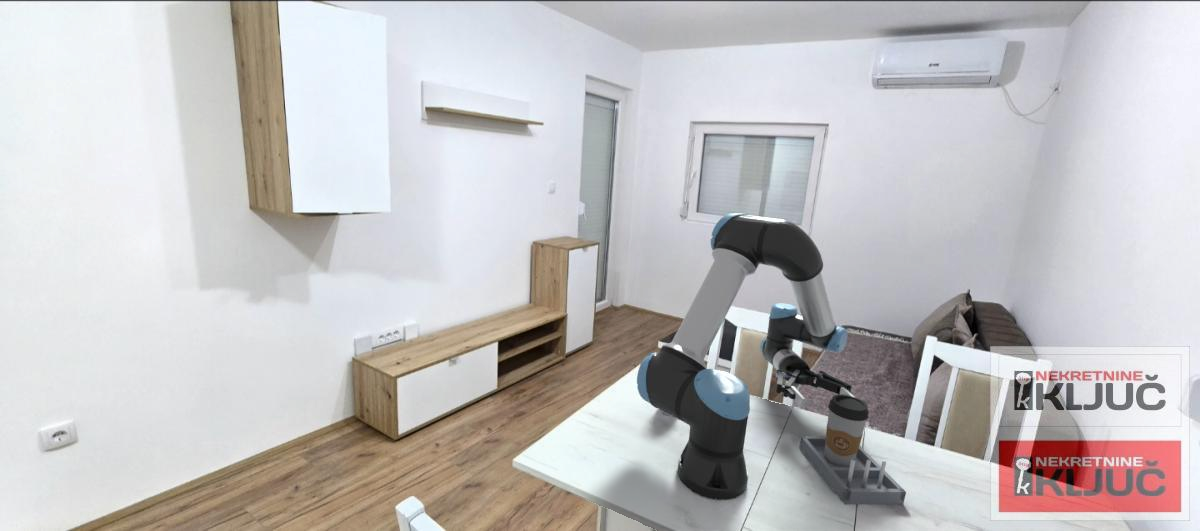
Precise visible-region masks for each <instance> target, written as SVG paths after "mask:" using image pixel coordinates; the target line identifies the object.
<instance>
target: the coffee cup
mask: <svg viewBox="0 0 1200 531" xmlns="http://www.w3.org/2000/svg"><path fill="white" fill-rule="evenodd" d="M855 397H856V396H854V397H852V396H849V395H839V394H835V395H833V396H832V398H831V399H830V400H829V404H828V415H827V422H826V429H825V430H826V432H825V436H826V440H825V442H826V443H825V457H826V459H827V460H828V461H829V462H830V463H832V464H834V465H836V466H840V467H850V463H851V460H855V458H856V454H857V452H858V449H859V446H861V443H862V442H861V441H862V438H863V437H864V436H863V435H864V431H865V427H866V423H867V420H868V419H869V414H870V410H869V409H868V404H867V403H866V402H865V401H864V400H862V399H860V398H858V397H856V398H855Z"/></svg>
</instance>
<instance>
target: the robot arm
mask: <svg viewBox="0 0 1200 531" xmlns="http://www.w3.org/2000/svg"><path fill="white" fill-rule="evenodd" d="M711 237H712V238H710V247H711V250H712V252H711V256H712V259H713V262H712V264H711V266H710V269H709V271H708V273H707V274H706V276H705V278H704V279H703V281H702V283H701V285H700V288H699V289H698V290H697V293H696V294H695V297H694V299H693V301H692V302H691V305H690V306H689V309H688V311H687V312H686V313H685V316H684V318H683V319H682V322H681V324H680V325H679V328H678V329H677V331H676V333H675V335H674V337H673V339H672V341H671V342H669V343H665V344H662V346H661V348H660V349H659V352H651V353H649V354H648V355H646V356H645V357H644V359H643V360H642V361H641V363H640V366H639V368H638V371H637V375H636V384H637V386H636V387H637V388H636V389H637V391H638V393H639V396H640V397H641V399H642V400H644V401H646V402H647V403H649V404H650V405H651V406H652V407H654V408H655V409H658V410H659V409H661V410H662V411H664V412H666V413H668V414H670V415H669V416H672V417H674V418H676V419H677V420H679V421H682V422H683V423H685V424H687V425H688V426H689V437H688V440H687V442H686V445H685V446H684V448H683V450H682V451H681V454H680V456H679V458H678V462H677V464H678V465H677V475H678V479H679V481H680V482H681V483H682V484H683V485H684V486H685V488H687V489H688V490H690V491H691V492H693V493H695V494H696V495H699V496H701V497H703V498H707V499H710V500H716V501H729V500H734V499H736V498H738V497H740V496H742V495H743V494H744V493H745V492H746V490H747V488H748V481H749V473H748V468H747V465H746V459H745V455H744V454H745V453H744V447H745V439H746V434H747V433H746V432H747V425H748V420H749V414H750V411H751V410H750V409H751V406H750V404H751V402H750V400H751V394H750V391H749V388H748V386H747V385H746V384H745V382H744V381H743V380H741V379H740V378H739V377H738V376H736V375H735V374H732V373H730V372H727V371H726V370H725V371H724V370H721V369H720V370H718V369H716V368H707V365H706V362H705V358H706V356H707V354H708V352H709V350H710V348H711V346H712V345H713V343H714V340H715V338H716V337H717V334H718V332H719V330H720V328H722V327H721V326H722V324H723V323H724V321H725V318H726V317H727V315H728V313H729V310H730V308H731V307H732V304H733V303H734V301H735V298H736V297H737V295H738V293H739V291H740V289H741V287H742V285H743V282H744V281H745V278H746V277H748V276H750V275H754V274H755V273H756V270H757V269H758V267H759V265H764V266H768V267H769V266H771V267H774V268H777V269H778V270H780V271H781V272H782V275H783V277H784V278H785V279H787V280H788V281H789V283H790V285H791V286H790V287H791V289H792V291H793V294H794V298H795V301H796V302H797V305H798V308H799V311H800V314H801V315H799V314H798V308H797V306H795V305H793V304H789V303H783V302H779V303H774V304H773V305H771V309H770V313H769V316H768V318H769V319H768V325H767V326H768V327H767V333H766V337H764V338H763V339H762V341H761V342H760V345H759V351H760V353H761V354H762V356H763V358H764V359H765V360H766V361H767V362H768V363H769V364H770V365H771V366H772V367H773V368H774V369H775V370H776V373H775V380H776V381H777V382H776V387H775V388H776V390H775V393H777V394H781V393H783V395H782V396H783V397H784V398H789V399H791V400H792V401H793V402H794V403H795V404H796V405H797V406H798V407H799V408H800V409H805V402H806V398H805V397H804V396H803V394H802V393H801V392H800V391H799V390H798V389H797V388H796V387H797V386H798V385H800V386H805V385H806V386H810V387H813V388H815V389H817V388H821V389H823V390H826V391H827V392H828V391H829V392H832V393H834V394H835V395H849V396H852V397H855V398H857V397H856V396H854V393H852V392H851V391H852V385H851V384H849V383H847V382H845V381H843V380H841V379H838V378H836V377H834V376H831V375H830V374H828V373H826V372H825V371H823V370H819V372H818V373H816V372H814V371H812V370H811V369H810V366H809V364H808V363H807V362H806V361H805V360H803V358H801V356H800V355H799V354H797V353H796V352H795V351H794V350H793V349H792V346H793V341H797V342H800V343H803V344H806V345H809V346H813V347H815V348H817V349H821V350H825V351H826V352H830V353H831V352H832V353H836V354H838V353H842V351H843V350H844V349H845V348H846V344H847V340H848V337H849V336H848V331H847V329H846V328H845V327H842V326H840V325H836V323H835V320H834V317H833V313H832V309H831V305H830V301H829V298H828V294H827V290H826V286H825V283H824V279H823V275H822V271H823V269H824V263H823V258H822V255H821V252H820V250H819V248H818V247H817V245H816V244H815V241H813V239H812V238H811V236H810V235H808V234H807V232H806V231H805V230H803V229H802V228H801V227H800V226H799V225H797V224H795V223H794V222H792V221H789V220H788V219H787V220H786V219H783V218H775V217H774V218H773V217H767V216H760V215H752V214H749V213H745V212H743V213H734V212H732V213H731V212H730V213H727V214H725V215H724V216H722V217H721V218H720V219H719V220H718V221H717V222H716V224H715V225H714V227H713V230H712V232H711ZM784 380H785V381H786V382H785V384H783V382H784ZM814 382H815V383H814Z"/></svg>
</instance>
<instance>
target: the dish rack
mask: <svg viewBox="0 0 1200 531" xmlns="http://www.w3.org/2000/svg"><path fill="white" fill-rule="evenodd" d="M825 440H826V435H825V436H819V435H817V436H816V435H815V436H813V435H812V436H811V435H810V436H809V435H800V440H799V445H798V446H799V448H800V450H801V451H802V452H803V453H804V455H805V456H806V457H807V459H808V461H810V462H811V464H812V465H813V466H814V467H815V470H816V471H817V472H818V473H819V474H820V476H822V478H823V479H824V481H826V483H827V484H828V485H829V487H830V488H831V489H832V491H833V492H834V493H835V494H836V495H837V497H838V498H839V499H840V501H841V502H842V503H843V504H844V505H904V504H905V499H906V495H907V491H906V490H905V489H904V488H903V487H902V486H901V485H900V484H899V483H898V482H897V481H896V480H895V479H894V478H893V477H892V476H891V475H890V474H889V473H888V472H887V471H886V470H885V469H886V465H887V461H886V460H885V459H882V460H881V464H879V463H878V462H877V461H876V460H875V459H874V458H873V457H872V456H871V455H870V454H869V453H868V452H867V451H866V450H865V449H864V448H863V447H862V446H861V445H860V446H859V449H858V452H857V454H856V458H855V460H851V463H850V467H840V466H836V465H834V464H832V463H830V462H829V461H828V460H827V459H826V457H825V443H826V442H825Z"/></svg>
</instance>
